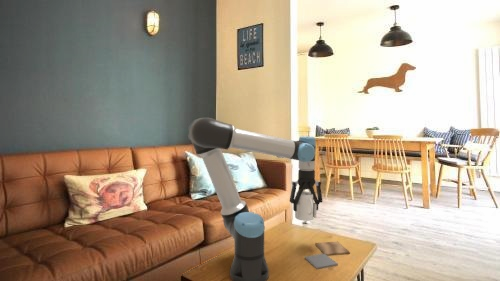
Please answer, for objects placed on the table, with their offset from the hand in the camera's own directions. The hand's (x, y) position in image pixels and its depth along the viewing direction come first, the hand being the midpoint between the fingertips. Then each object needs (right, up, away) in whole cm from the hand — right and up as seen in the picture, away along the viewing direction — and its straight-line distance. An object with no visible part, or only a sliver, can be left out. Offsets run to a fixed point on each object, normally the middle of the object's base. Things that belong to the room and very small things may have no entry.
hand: (305, 217), depth 134 cm
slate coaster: (+4, -16, -12) cm, 20 cm away
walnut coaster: (+13, -15, +1) cm, 20 cm away
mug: (0, -1, 0) cm, 1 cm away
